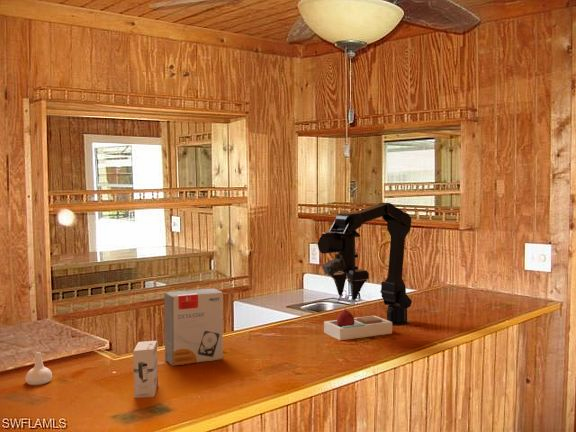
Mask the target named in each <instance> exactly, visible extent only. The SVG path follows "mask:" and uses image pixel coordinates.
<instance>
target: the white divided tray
mask: <svg viewBox="0 0 576 432" xmlns="http://www.w3.org/2000/svg"><path fill="white" fill-rule="evenodd" d="M354 321H355V323H354V325H350V326H342V327H339V326H338V324H337V319H336V320H335V319H334V320H325V321H323V333H324V334H326V335H328V336H330V337H332V338H334V339H337V340H338V341H344V340H346V341H347V340H352V339H354V340H355V339H359V338H360V339H361V338H367V337H368V338H369V337H374V336H382V335H383V336H384V335H389V334H393V324H392V322H391V321H388V320H387V319H385V318H382V317H379V316H376V315H369V316H368V315H367V316H360V317H354Z"/></svg>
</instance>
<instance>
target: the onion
mask: <svg viewBox="0 0 576 432" xmlns="http://www.w3.org/2000/svg"><path fill="white" fill-rule="evenodd" d="M354 318H355V317H354V315H353V314H352V313H351V312H350V311H348V310H347V308H346V307H344V308H343V311H341V312H340V313H339V314H338V316H337V319H336V320H337V324H338V326H339V327H342V326H350V325H354V323H355V321H354Z"/></svg>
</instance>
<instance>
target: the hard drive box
mask: <svg viewBox="0 0 576 432" xmlns="http://www.w3.org/2000/svg"><path fill="white" fill-rule="evenodd" d="M223 294H224V292H223V291H220V290H219V289H216V288H215V287H213V288H201V289H190V290H189V289H188V290H178V291H167V292H164V294H163V295H164V296H163V297H164V360H165V361H166V362H168V364H169V365H170V366H172V367H174V366H175V367H176V366H180V365H181V366H185V364H186V365H189V364H196V363H203V362H211V361H216V360H217V361H218V360H223V358H224V357H223V356H224V355H223V354H224V352H223V351H224V345H223V343H224V342H223V341H224V339H223V334H224V333H223V332H224V329H223V328H224V326H223V325H224V324H223V323H224V320H223V319H224V318H223V315H224V314H223V313H224V311H223V310H224V309H223V306H224V305H223V298H224V297H223Z"/></svg>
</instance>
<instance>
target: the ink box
mask: <svg viewBox="0 0 576 432" xmlns="http://www.w3.org/2000/svg"><path fill="white" fill-rule="evenodd" d="M132 356H133V362H132V363H133V393H134V394H133V397H134V398H135V399H137V398H140V399H141V398H154V397H155V396H156V392H157V391H158V390H157V389H158V387H159V371H158V370H159V369H158V368H159V367H158V340H147V341H146V340H145V341H138V342H137V344H136V346H135V348H134V349H133V352H132Z"/></svg>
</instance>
